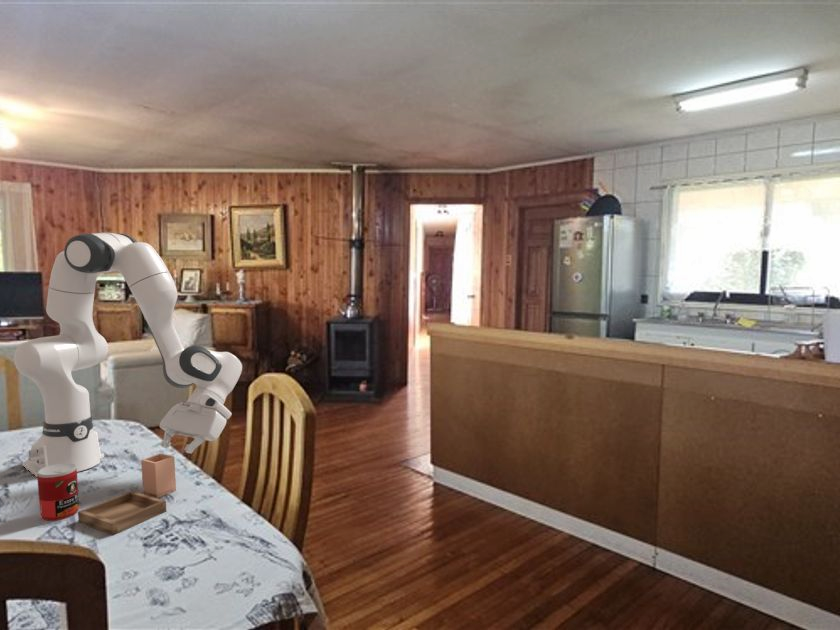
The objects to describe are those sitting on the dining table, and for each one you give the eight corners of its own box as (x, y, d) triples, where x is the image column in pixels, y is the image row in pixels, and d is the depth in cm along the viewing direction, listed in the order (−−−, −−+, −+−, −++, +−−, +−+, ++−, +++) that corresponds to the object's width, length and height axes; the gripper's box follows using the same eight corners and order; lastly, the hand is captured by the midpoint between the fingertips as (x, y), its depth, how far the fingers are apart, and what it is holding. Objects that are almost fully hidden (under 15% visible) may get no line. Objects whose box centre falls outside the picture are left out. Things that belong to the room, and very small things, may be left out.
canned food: (60, 522, 123) (57, 476, 122) (31, 519, 125) (28, 473, 124) (87, 508, 130) (84, 464, 129) (59, 505, 132) (56, 461, 131)
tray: (78, 522, 123) (77, 511, 123) (132, 500, 134) (131, 490, 134) (113, 535, 117) (112, 524, 117) (166, 511, 128) (165, 501, 128)
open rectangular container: (143, 494, 138) (141, 459, 137) (162, 486, 143) (160, 453, 142) (157, 498, 136) (155, 463, 135) (176, 490, 140) (174, 456, 140)
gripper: (172, 395, 153) (142, 438, 146) (222, 402, 144) (193, 449, 136) (186, 406, 158) (158, 449, 150) (236, 415, 148) (208, 461, 140)
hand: (175, 449), depth 143 cm, fingers open, 8 cm apart
